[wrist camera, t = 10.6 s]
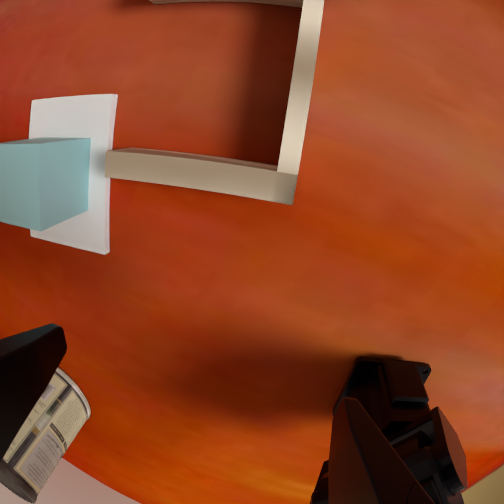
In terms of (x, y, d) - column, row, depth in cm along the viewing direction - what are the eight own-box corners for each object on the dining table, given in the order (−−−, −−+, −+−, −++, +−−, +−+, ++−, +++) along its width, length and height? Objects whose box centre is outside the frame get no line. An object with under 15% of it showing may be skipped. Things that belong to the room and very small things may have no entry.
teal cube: (88, 210, 20) (41, 231, 15) (40, 202, 20) (-6, 220, 16) (91, 138, 18) (40, 143, 14) (41, 137, 19) (-8, 144, 14)
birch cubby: (293, 194, 18) (292, 205, 16) (129, 170, 19) (104, 177, 16) (324, -9, 14) (327, -31, 11) (159, -14, 14) (139, -31, 12)
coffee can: (44, 407, 32) (-10, 476, 19) (13, 346, 28) (-59, 416, 15) (103, 430, 30) (51, 517, 17) (73, 365, 27) (-6, 461, 14)
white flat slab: (109, 251, 21) (105, 254, 21) (35, 234, 22) (30, 236, 22) (117, 94, 18) (113, 94, 17) (37, 100, 18) (32, 100, 18)
